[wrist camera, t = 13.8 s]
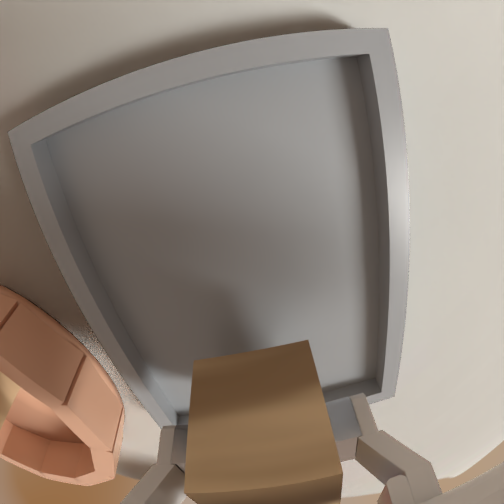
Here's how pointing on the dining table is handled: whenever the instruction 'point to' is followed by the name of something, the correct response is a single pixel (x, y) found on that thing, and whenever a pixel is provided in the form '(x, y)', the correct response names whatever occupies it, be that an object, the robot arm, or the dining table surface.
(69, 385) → the bowl
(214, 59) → the tray
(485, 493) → the robot arm
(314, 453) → the block right
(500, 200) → the dining table surface
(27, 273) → the dining table surface
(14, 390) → the block left
